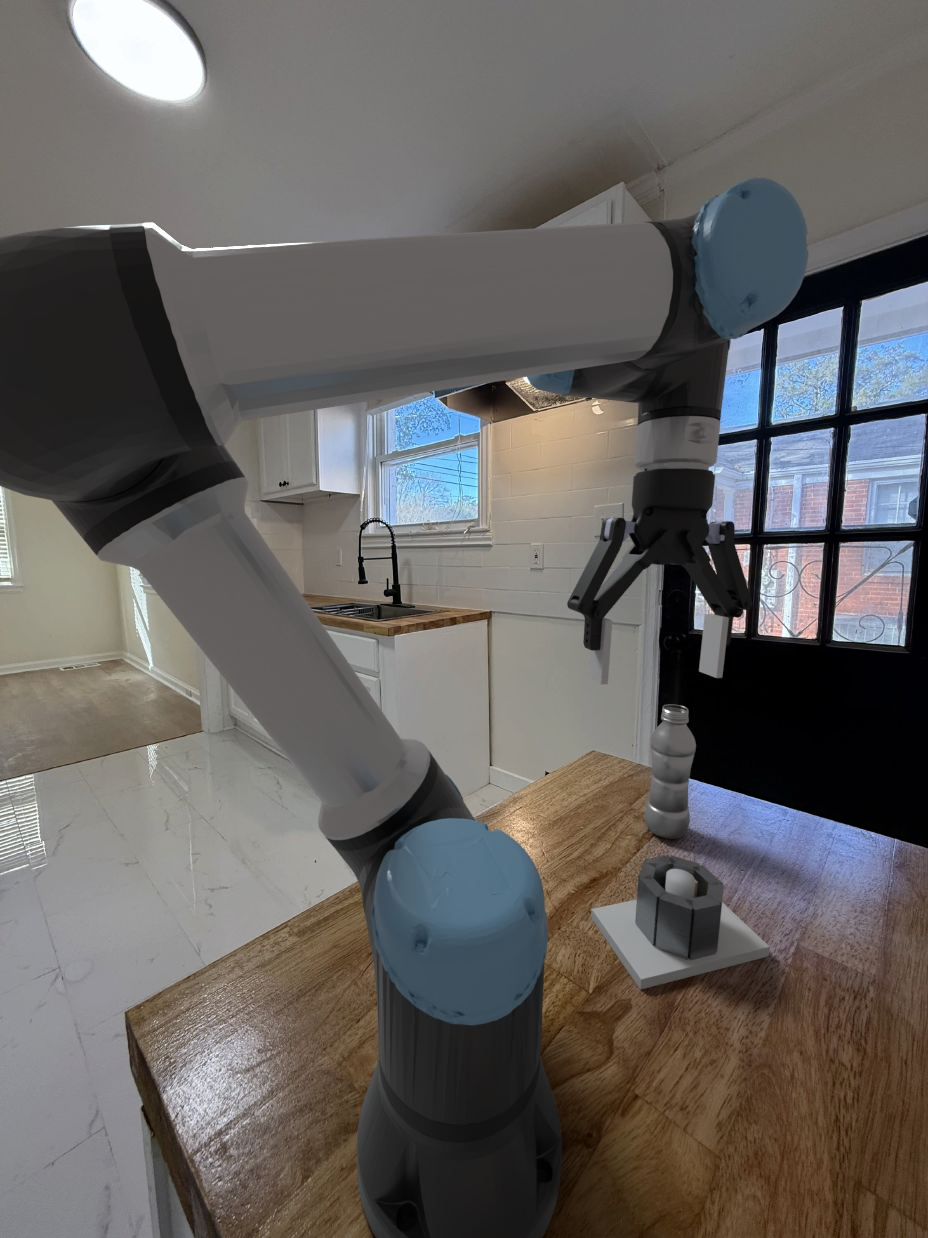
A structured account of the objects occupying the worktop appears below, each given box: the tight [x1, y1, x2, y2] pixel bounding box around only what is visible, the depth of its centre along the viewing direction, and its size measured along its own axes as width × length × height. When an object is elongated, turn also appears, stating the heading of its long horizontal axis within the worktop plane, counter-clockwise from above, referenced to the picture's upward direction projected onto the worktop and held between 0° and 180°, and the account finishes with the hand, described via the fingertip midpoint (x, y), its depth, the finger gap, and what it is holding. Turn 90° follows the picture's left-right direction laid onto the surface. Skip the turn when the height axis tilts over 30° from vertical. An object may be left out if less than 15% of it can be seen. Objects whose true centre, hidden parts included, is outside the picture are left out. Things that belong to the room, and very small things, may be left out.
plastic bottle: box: [644, 703, 697, 840], centre depth 76 cm, size 6×7×20 cm
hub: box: [635, 854, 725, 960], centre depth 57 cm, size 8×8×6 cm
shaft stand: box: [590, 869, 770, 990], centre depth 57 cm, size 16×10×8 cm, turn 105°
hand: (655, 677), depth 54 cm, fingers open, 13 cm apart
